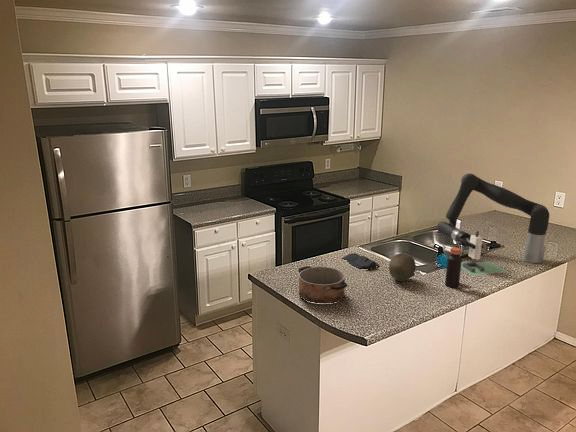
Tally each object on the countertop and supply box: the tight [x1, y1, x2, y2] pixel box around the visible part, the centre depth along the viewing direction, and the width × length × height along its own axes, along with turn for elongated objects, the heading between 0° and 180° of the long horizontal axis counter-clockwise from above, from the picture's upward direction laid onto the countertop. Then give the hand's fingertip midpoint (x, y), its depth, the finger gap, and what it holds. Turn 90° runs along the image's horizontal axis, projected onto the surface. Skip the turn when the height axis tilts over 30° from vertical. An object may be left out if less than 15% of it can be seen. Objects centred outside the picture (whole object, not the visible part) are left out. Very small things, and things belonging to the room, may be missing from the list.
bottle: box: [444, 246, 463, 289], centre depth 232 cm, size 7×7×20 cm
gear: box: [436, 253, 449, 270], centre depth 258 cm, size 11×6×10 cm
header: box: [462, 261, 484, 272], centre depth 254 cm, size 8×11×2 cm
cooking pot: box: [297, 265, 348, 303], centre depth 223 cm, size 30×22×11 cm
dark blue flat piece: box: [341, 253, 380, 269], centre depth 264 cm, size 15×22×5 cm
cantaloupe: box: [388, 252, 417, 282], centre depth 239 cm, size 14×14×15 cm
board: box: [461, 261, 508, 276], centre depth 254 cm, size 22×16×1 cm
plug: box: [467, 230, 484, 261], centre depth 249 cm, size 4×6×15 cm, turn 12°
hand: (478, 246), depth 247 cm, fingers closed on plug, 4 cm apart
